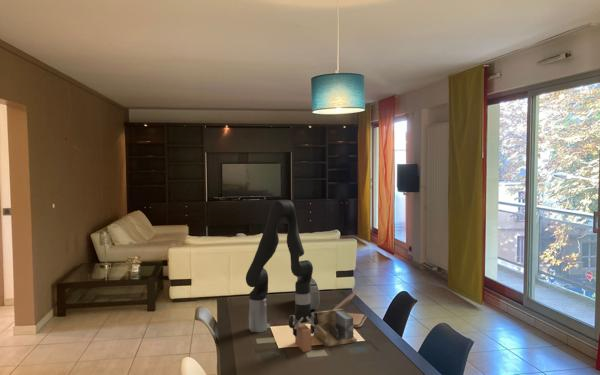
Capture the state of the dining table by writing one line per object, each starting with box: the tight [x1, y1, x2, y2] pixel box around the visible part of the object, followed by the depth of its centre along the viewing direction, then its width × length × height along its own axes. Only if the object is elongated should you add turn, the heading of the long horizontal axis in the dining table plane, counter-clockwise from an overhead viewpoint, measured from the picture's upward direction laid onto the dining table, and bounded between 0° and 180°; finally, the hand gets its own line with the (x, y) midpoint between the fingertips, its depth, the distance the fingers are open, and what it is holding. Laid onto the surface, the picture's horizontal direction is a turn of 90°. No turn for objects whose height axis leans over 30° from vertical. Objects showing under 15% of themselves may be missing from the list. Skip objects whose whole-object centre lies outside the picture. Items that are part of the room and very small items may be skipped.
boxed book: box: [294, 323, 312, 353], centre depth 219 cm, size 4×12×10 cm, turn 19°
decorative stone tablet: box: [296, 276, 321, 311], centre depth 283 cm, size 19×6×30 cm
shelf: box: [312, 308, 358, 347], centre depth 229 cm, size 17×16×12 cm
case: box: [332, 289, 368, 329], centre depth 255 cm, size 20×21×16 cm
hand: (303, 334), depth 219 cm, fingers open, 8 cm apart
